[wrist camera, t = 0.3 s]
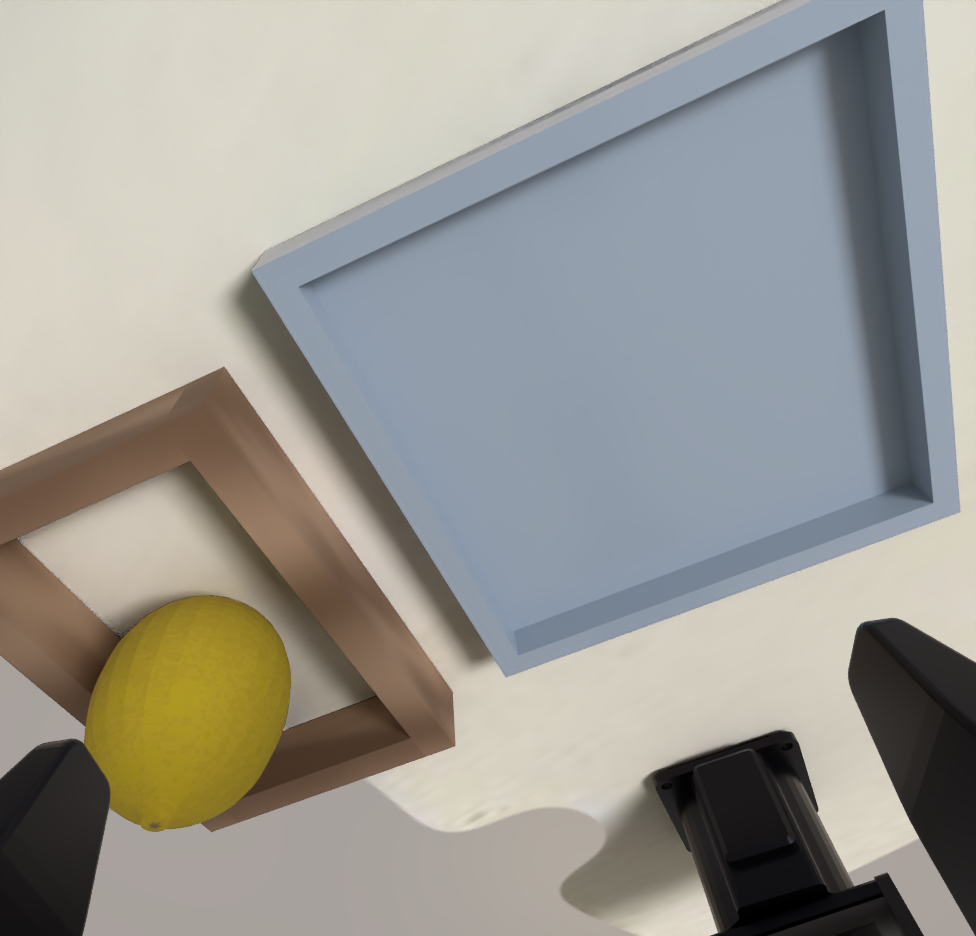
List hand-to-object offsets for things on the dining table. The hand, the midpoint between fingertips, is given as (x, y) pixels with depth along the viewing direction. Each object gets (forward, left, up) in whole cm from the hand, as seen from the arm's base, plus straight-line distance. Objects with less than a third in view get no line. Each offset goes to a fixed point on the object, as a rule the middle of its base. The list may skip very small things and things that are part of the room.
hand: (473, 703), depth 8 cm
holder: (-7, +12, -14) cm, 19 cm away
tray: (-5, -4, -14) cm, 15 cm away
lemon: (-7, +12, -14) cm, 19 cm away
